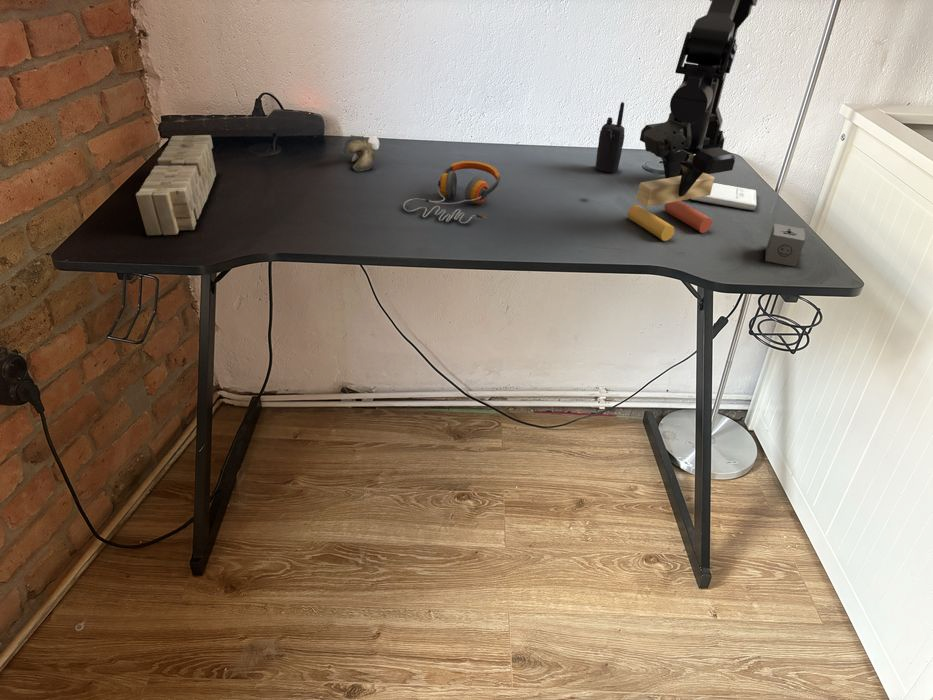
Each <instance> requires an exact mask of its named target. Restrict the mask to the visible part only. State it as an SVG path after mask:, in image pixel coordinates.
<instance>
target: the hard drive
mask: <svg viewBox="0 0 933 700" xmlns="http://www.w3.org/2000/svg"><path fill="white" fill-rule="evenodd" d="M690 200H691V201H697V202H703V203H708V204H713V205H720V206H725V207H732V208H737V209H741V210H749V211H755V210H756V207H757V190H756V189H751V188H746V187H739V186H733V185H728V184H722V183H717V182H713V186H712V190H711V194H710V195H708V196H702V197H697V198H692V199H690Z"/></svg>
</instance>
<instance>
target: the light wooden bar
mask: <svg viewBox="0 0 933 700" xmlns="http://www.w3.org/2000/svg"><path fill="white" fill-rule="evenodd" d="M680 181H681V176H677V177H671V178H665V177H664V178H660V179H659V178H658V179H654V180H648V181H643V182H640V183H639V186H638V192H637V197H636V202H638V203H639V204H641V205H642V206H644V207H646V208H649V207H654V206H659V205H665V204H666V203H671V202H676V201H681V202H682V201H686V200H691V199H692V198H697V197H702V196H708V195H710V194H711V190H712V186H713V183H715V182H714V181H715V176H713V175H712V174H705V173H703V174H702V175H701V176H700V177H699V178H698V179H697V180H696V182H695V183H694V184H693V185H692V187H691V188H690V189H689V190H688V192H687V193H686V194H685V195H684V196H682V197H680V196H679V186H680Z"/></svg>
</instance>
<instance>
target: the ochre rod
mask: <svg viewBox="0 0 933 700" xmlns="http://www.w3.org/2000/svg"><path fill="white" fill-rule="evenodd" d="M627 218H628V219H629V220H631V222H633V223H635V224H637V225H638V226H640V227H641V228H643V229H644V230H646V231H648V232H649V233H651V234H652V235H653V236H655V237H657V238H658V239H660V240H661V241H663V242H667V241H669V240H670V239H671V238H672V237H673V235H674V234H675V227H674V226H673V225H671V224H670V223H668V222H667V221H665V220H663V219H662V218H660V217H659V216H657V215H656V214H654V213H652V212H650V211H648V210H647V209H646V208H644V207H643V206H641V205H639V204H633V205H632V206H630V208H629V209H628V212H627Z"/></svg>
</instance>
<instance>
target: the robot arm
mask: <svg viewBox="0 0 933 700" xmlns="http://www.w3.org/2000/svg"><path fill="white" fill-rule="evenodd" d="M709 2H711V3H710V5H709V8H708V11H707V13H706V14H705V15H703V16H701V17H699V18H697V19H695V22H694V24H693V25H692V27H691V30H690V31H687V32H686V35H685V37H684V41H683V44H682V48H681V51H680V54H679V57H678V61H677V65H676V68H675V71H674V72H675V74H680V75H683V77H682V78H683V79H682V81H681V84H680V85H679V86H678V87H677V89H676V90H675V92H673V94H672V96H671V98H670V101H669V108H670V113H669V114H668V118H667V120H666V121H664V122H657V123H651V124H650V123H649V124H645V126H643V128H642V129H641V130H640V136H639V141H640V142H642V143H644V148H645V151H646V152H647V153H649V152H650V153H652V154H654V156H655V157H658V158H660V159H661V161H662V165H663V171H664V179H665V178H671V177H677V176H681V181H680V186H679V196H680V197H682V196H684V195H685V194H686V193H687V192H688V190H689V189H690V188H691V187H692V185H693V184H694V183H695V182H696V180H697V179H698V178H699V177H700V176H701V175H702V174H703V173H705V174H709V175H713V174H718V173H725V172H730V171H733V169H734V166H735V162H736V157H735V155H734V153H732V152H730V151H728V150H727V149H726V150H725V149H724V145H725V140H726V139H725V137H724V130H721V129H722V126H723V117H722V114H721V111H720V108H719V107H720V101H721V97H722V93H723V89H724V86H725V81H726V77H727V75H728V74H730V72H731V69H732V67H733V63H734V59H735V57H736V53H737V51H738V44H737V38H736V37H737V34H738V29H739V28H740V27H741V26H742V24H743V23H745V21H746V20H747V18H749V16H750V15H751V13H752V9H753V7H757V4H758V0H709Z"/></svg>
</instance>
